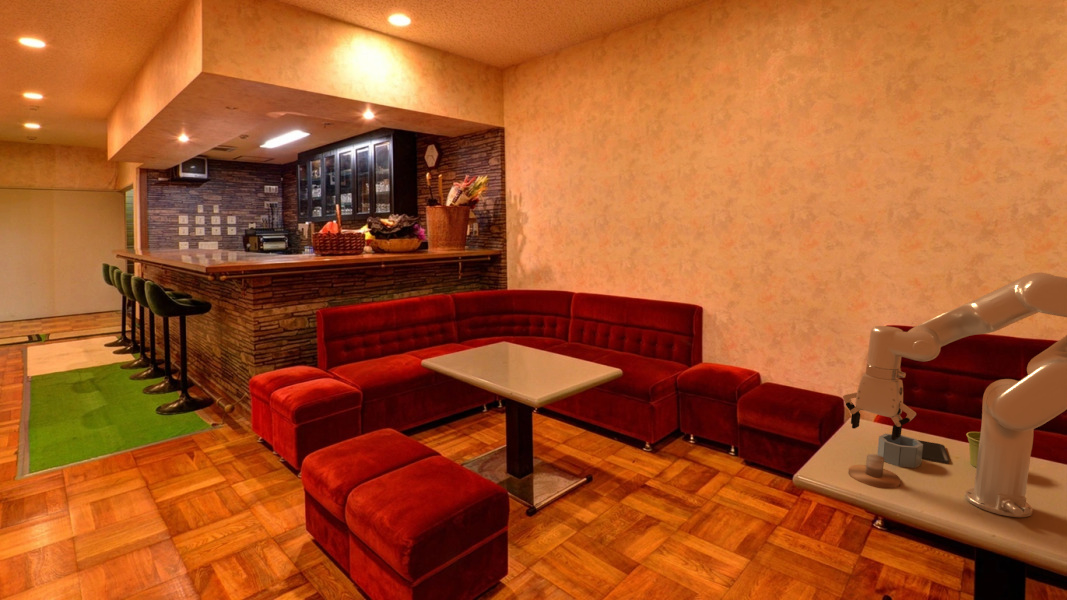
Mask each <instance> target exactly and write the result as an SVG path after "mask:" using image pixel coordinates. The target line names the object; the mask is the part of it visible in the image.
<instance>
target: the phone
mask: <svg viewBox="0 0 1067 600" xmlns="http://www.w3.org/2000/svg"><path fill="white" fill-rule="evenodd" d="M917 440H918V441H919V442H921V443H922V444H923V451H922V460H921V461H929V462H935V463H939V464H944V465H947V464H950V458H949V456H948V453H947V450H946V447H945V445H944V444H942V443H936V442H930V441H924V440H919V439H917Z"/></svg>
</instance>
